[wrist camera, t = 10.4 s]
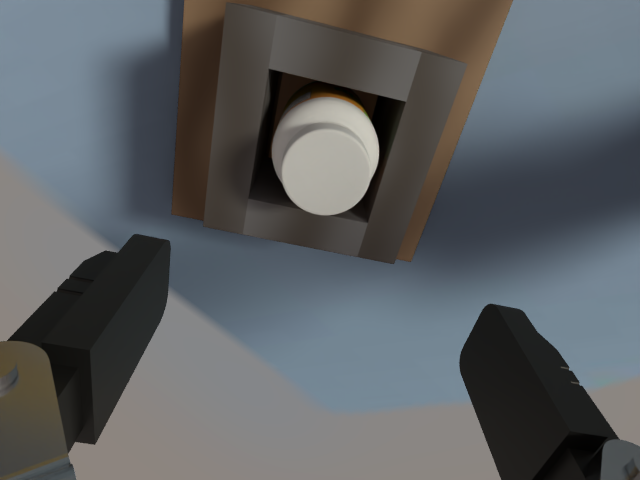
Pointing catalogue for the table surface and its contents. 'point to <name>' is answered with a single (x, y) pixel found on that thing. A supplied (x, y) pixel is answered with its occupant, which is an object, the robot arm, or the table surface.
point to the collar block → (335, 68)
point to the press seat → (295, 82)
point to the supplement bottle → (325, 148)
